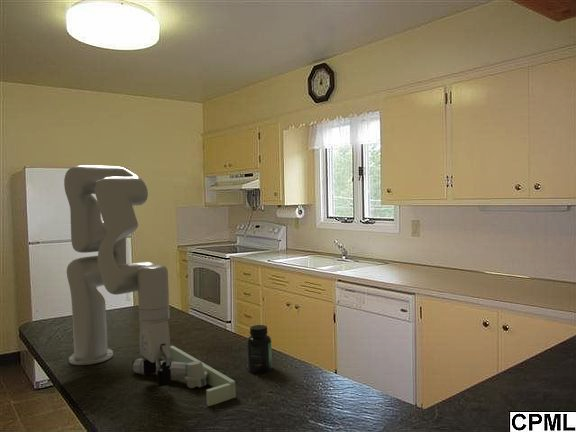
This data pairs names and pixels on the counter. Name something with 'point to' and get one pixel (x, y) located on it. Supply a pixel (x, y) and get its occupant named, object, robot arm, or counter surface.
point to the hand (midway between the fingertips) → (157, 379)
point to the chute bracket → (209, 379)
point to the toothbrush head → (180, 371)
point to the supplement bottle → (259, 350)
